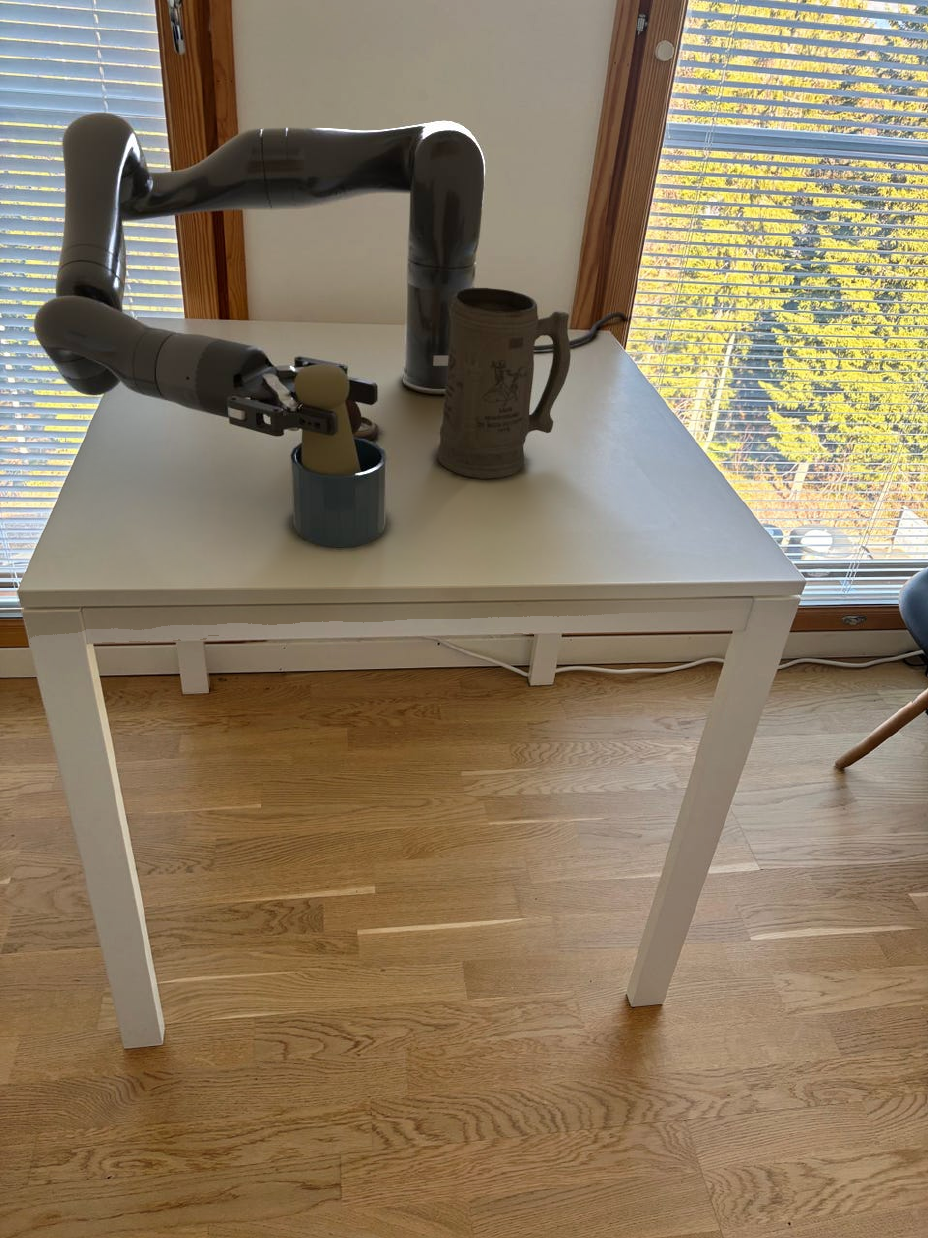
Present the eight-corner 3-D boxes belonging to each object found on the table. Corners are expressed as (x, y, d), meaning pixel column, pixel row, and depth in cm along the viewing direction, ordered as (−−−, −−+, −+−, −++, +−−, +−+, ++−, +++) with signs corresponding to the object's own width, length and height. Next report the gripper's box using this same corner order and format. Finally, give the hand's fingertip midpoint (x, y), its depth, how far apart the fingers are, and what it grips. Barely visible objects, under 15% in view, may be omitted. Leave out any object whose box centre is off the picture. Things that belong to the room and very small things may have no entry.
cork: (351, 489, 89) (341, 381, 82) (292, 485, 90) (278, 377, 83) (368, 463, 94) (359, 359, 87) (312, 459, 95) (300, 355, 88)
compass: (386, 430, 117) (387, 375, 112) (356, 453, 111) (356, 396, 106) (333, 416, 119) (332, 362, 115) (300, 438, 113) (298, 382, 109)
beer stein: (456, 486, 105) (480, 312, 94) (417, 448, 113) (435, 283, 101) (565, 474, 112) (600, 311, 101) (521, 439, 119) (549, 283, 108)
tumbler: (358, 495, 102) (358, 429, 97) (401, 533, 95) (403, 465, 91) (279, 514, 97) (275, 445, 92) (319, 556, 91) (317, 484, 86)
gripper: (167, 361, 85) (321, 396, 80) (249, 320, 96) (389, 349, 91) (176, 436, 89) (323, 472, 85) (254, 388, 100) (387, 419, 96)
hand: (357, 408), depth 88 cm, fingers open, 8 cm apart
